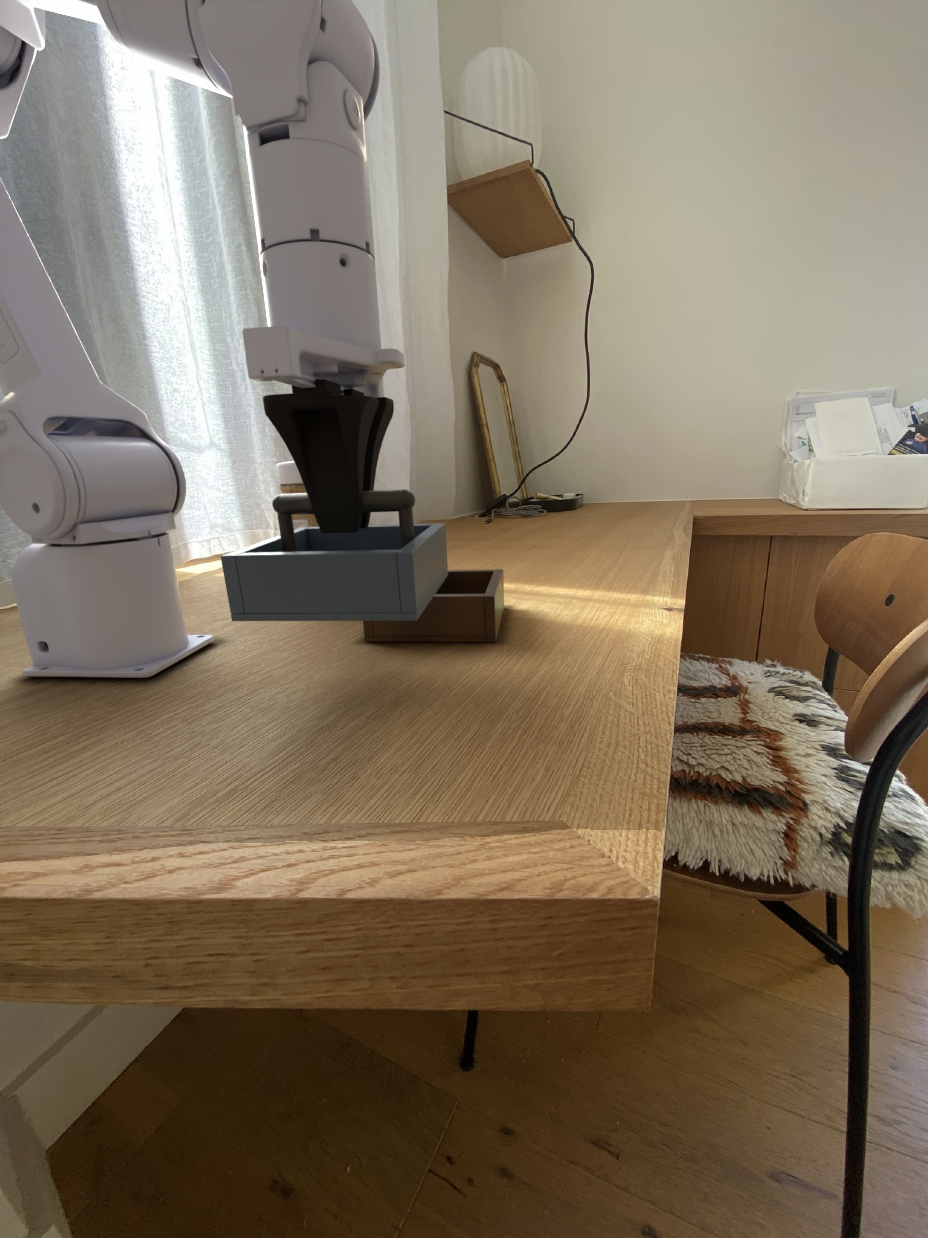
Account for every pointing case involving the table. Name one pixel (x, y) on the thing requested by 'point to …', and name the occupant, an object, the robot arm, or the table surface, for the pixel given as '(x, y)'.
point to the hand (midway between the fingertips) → (345, 530)
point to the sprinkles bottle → (294, 491)
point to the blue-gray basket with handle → (339, 567)
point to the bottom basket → (451, 612)
